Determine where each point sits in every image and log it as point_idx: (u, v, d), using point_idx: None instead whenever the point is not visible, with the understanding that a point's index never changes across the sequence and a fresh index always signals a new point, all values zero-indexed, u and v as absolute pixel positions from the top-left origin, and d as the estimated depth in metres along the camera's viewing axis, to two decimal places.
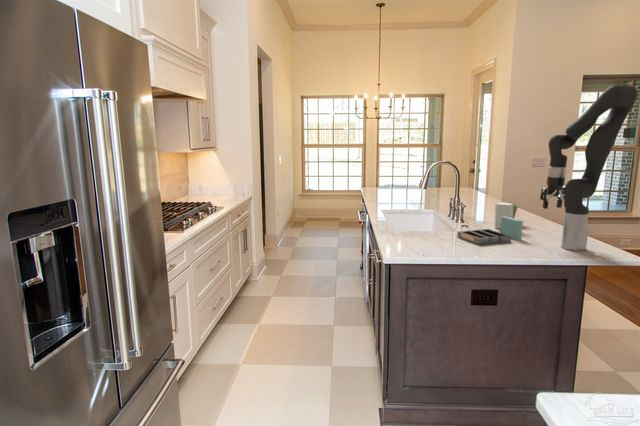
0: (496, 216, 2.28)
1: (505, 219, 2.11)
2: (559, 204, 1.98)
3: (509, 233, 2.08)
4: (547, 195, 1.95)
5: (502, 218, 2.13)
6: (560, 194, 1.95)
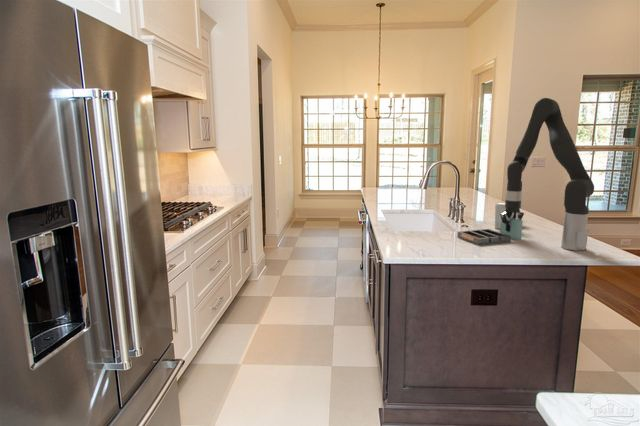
0: (496, 216, 2.28)
1: None
2: None
3: (509, 233, 2.08)
4: (507, 219, 2.08)
5: None
6: (516, 217, 2.07)
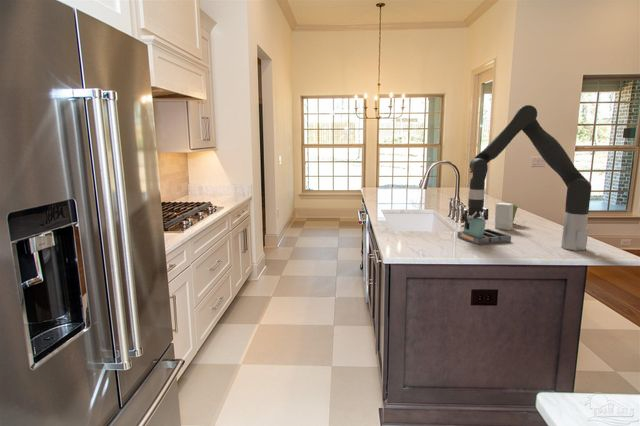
0: (496, 216, 2.28)
1: None
2: None
3: (471, 232, 2.03)
4: (468, 216, 2.01)
5: None
6: (481, 215, 2.00)
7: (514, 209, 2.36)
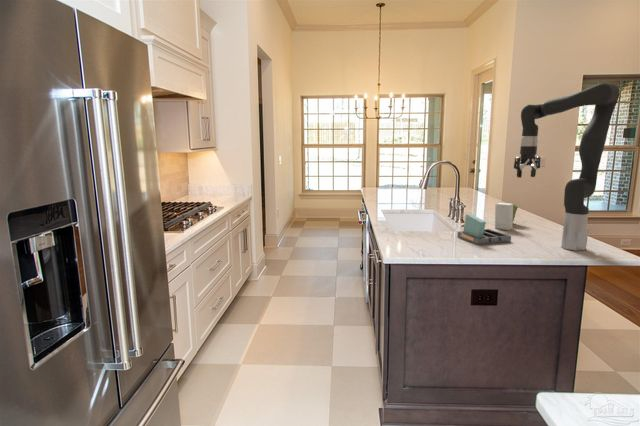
0: (496, 216, 2.28)
1: (469, 217, 2.04)
2: (533, 173, 2.03)
3: (471, 232, 2.03)
4: (520, 164, 2.00)
5: (466, 216, 2.06)
6: (533, 163, 2.00)
7: (514, 209, 2.36)
